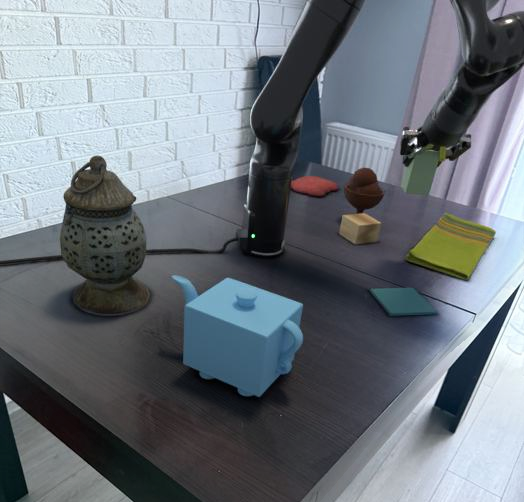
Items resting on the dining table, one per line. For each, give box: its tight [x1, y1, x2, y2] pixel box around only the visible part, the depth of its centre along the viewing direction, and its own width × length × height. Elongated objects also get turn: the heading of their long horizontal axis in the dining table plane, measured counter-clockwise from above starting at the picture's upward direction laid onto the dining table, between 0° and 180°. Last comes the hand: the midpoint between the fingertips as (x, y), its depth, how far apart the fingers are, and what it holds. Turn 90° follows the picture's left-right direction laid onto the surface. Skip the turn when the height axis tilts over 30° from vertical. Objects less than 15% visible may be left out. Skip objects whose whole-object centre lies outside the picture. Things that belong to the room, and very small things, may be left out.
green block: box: [400, 150, 439, 197], centre depth 107 cm, size 5×5×9 cm
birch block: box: [338, 212, 382, 245], centre depth 128 cm, size 7×7×5 cm
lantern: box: [59, 155, 151, 317], centre depth 85 cm, size 14×14×25 cm
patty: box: [291, 175, 340, 198], centre depth 161 cm, size 18×14×2 cm
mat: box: [369, 287, 437, 317], centre depth 103 cm, size 10×10×1 cm
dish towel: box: [405, 212, 497, 281], centre depth 129 cm, size 15×36×3 cm, turn 150°
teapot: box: [171, 274, 304, 398], centre depth 75 cm, size 22×11×14 cm, turn 61°
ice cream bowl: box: [343, 167, 386, 214], centre depth 134 cm, size 11×11×15 cm
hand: (418, 164), depth 108 cm, fingers closed on green block, 5 cm apart
